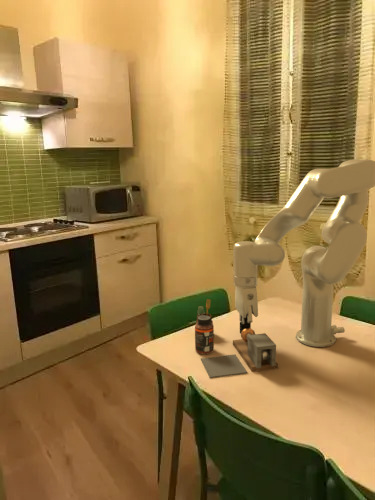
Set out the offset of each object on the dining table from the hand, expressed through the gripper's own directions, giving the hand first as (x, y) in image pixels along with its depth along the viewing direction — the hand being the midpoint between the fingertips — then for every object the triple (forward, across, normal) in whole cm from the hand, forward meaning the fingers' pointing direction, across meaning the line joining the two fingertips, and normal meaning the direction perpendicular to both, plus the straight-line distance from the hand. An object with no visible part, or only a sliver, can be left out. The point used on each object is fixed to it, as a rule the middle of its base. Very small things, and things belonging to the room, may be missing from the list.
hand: (245, 333), depth 129 cm
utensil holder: (+4, +10, +11) cm, 16 cm away
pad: (+4, -13, +11) cm, 17 cm away
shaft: (+1, -10, 0) cm, 10 cm away
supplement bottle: (+4, -2, +14) cm, 15 cm away
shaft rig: (+4, -8, 0) cm, 9 cm away
